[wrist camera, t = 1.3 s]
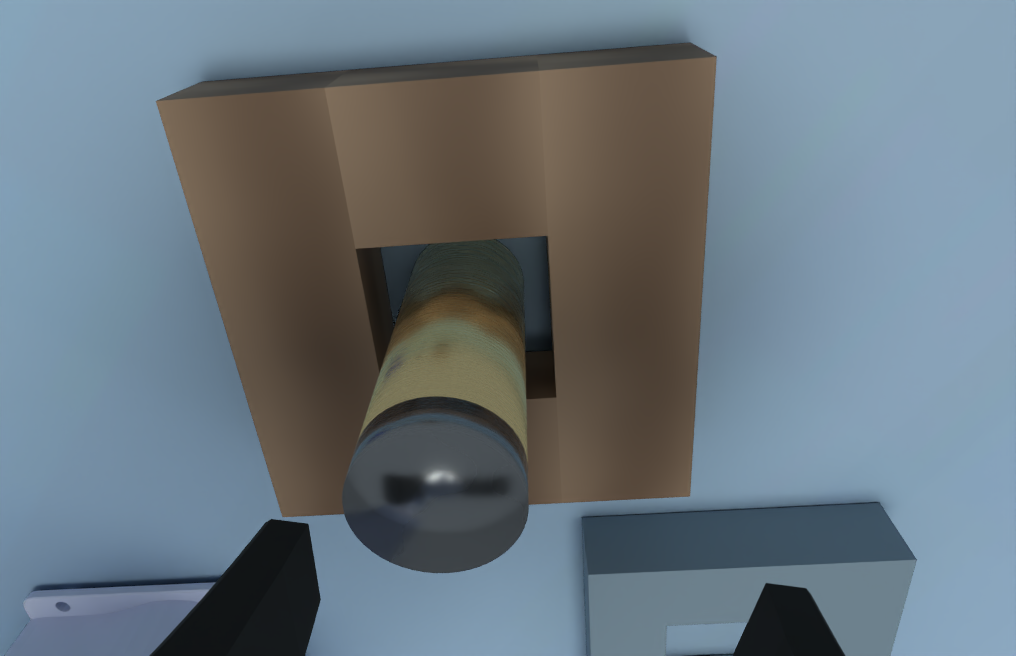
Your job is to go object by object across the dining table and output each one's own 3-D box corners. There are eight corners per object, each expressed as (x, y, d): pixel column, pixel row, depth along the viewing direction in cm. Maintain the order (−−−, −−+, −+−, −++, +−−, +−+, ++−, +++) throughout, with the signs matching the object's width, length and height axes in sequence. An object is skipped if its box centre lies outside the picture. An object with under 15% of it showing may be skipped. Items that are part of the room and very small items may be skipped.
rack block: (588, 700, 29) (594, 762, 27) (581, 517, 24) (588, 574, 22) (836, 690, 28) (863, 753, 26) (879, 502, 24) (916, 559, 21)
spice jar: (419, 337, 21) (359, 576, 13) (403, 236, 19) (325, 436, 11) (527, 330, 21) (533, 569, 13) (520, 228, 19) (521, 426, 11)
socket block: (304, 462, 23) (282, 517, 21) (201, 81, 17) (155, 101, 15) (672, 442, 23) (690, 496, 20) (690, 42, 17) (716, 57, 15)
